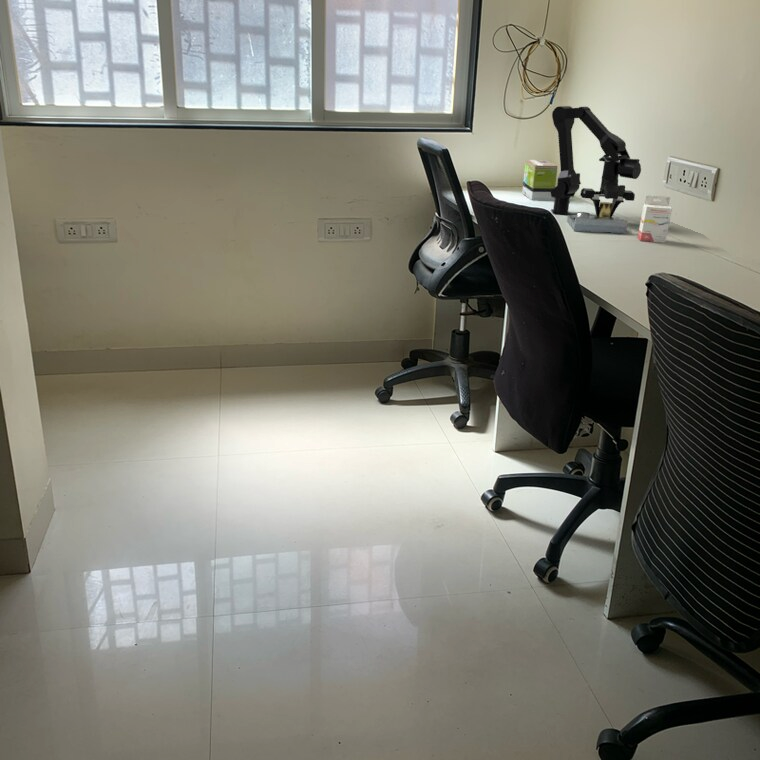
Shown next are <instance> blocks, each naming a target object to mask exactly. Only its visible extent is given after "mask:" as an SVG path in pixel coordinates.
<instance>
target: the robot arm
mask: <svg viewBox="0 0 760 760" xmlns="http://www.w3.org/2000/svg"><path fill="white" fill-rule="evenodd" d="M551 117H552V121H553V122H552V123H553V125H554V127H555V130H556V131H557V134H558V135H557V136H558V137H557V138H558V147H559V148H558V150H559V151H558V152H559V163H560V164H559V165H560V172H559V174H558V177H557V185H555V188H554V189H553V190H552V191H551V197H554V200H553V209H550V211H551V213H552V214H554V213H555V214H554V215H571V212H570V210H569V208H570V201H571V197H575V194H576V193H577V192H578V191H579V189H580V185H582V183H581V173H579V172H578V173H577V172H576V171H575V168H574V167H575V166H574V165H575V164H574V152H573V137H572V135H573V134H572V129H573V126H574V124H575V120H576V119H579V120H580V121H581V122H582V123H583V124H584V125H585V127H586V128H587V129H588V130H589V131H590V132H591V133H592V134H593V136H595V138H597V140H598V142H599V147H600V148H601V150H602V152H603V153H604V154H603V155H602V157H600V158H599V160H598V161H599V162H603V169H602V175H601V181H600V182H601V183H600V187H599V190H597V191H596V190H594V189H593V188H589V187H587V188H586V187H582V189H581V190H580V193H579V194H580V197H581V198H583V199H589V200H591V201H592V203H593V205H594V209H595V211H594V212H595V216H599V206H600V202H601V199H600V198H602V197H603V198H604V199H607V200H608V199H609V200H610V199H611V200H612V201H611V203H612V209H611V215H610V217H613V216H614V213H615V212H616V210H617V209H618V207H619V206H620V205H621V203H625V201H629V202H630V201H632V202H633V201H635V198H636V194H635V193H634V192H633V191H632V190H628V189H627V190H626V186H625V185H623V184H620V185H619V177H620V178H627V179H634V180H637V179H638V178H639V177H640V175H641V172H642V168H641V167H642V166H641V163H640V159H638V158H631V157H630V154H629V152H628V150H627V148H626V147H627V145H626V142H625V140H624V139H622V138H621V137H620V136H619V135H616V134H615V133H612V132H611V131H610V130H608V128H607V127H606V126H605V125H604V124H603V123H602V121H601V120H600V119H599V118H598V116H596V114H594V112H593V111H592V110H591V108H590V107H589V106H579V107H572V106H570V105H565V106H564V105H561V106H556V107H555V108H554V109H553V111H552V112H551Z"/></svg>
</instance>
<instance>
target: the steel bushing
mask: <svg viewBox="0 0 760 760" xmlns="http://www.w3.org/2000/svg"><path fill="white" fill-rule="evenodd" d="M576 215H577V218H589V216H591V213H590V212H586V211H577V212H576Z"/></svg>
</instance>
